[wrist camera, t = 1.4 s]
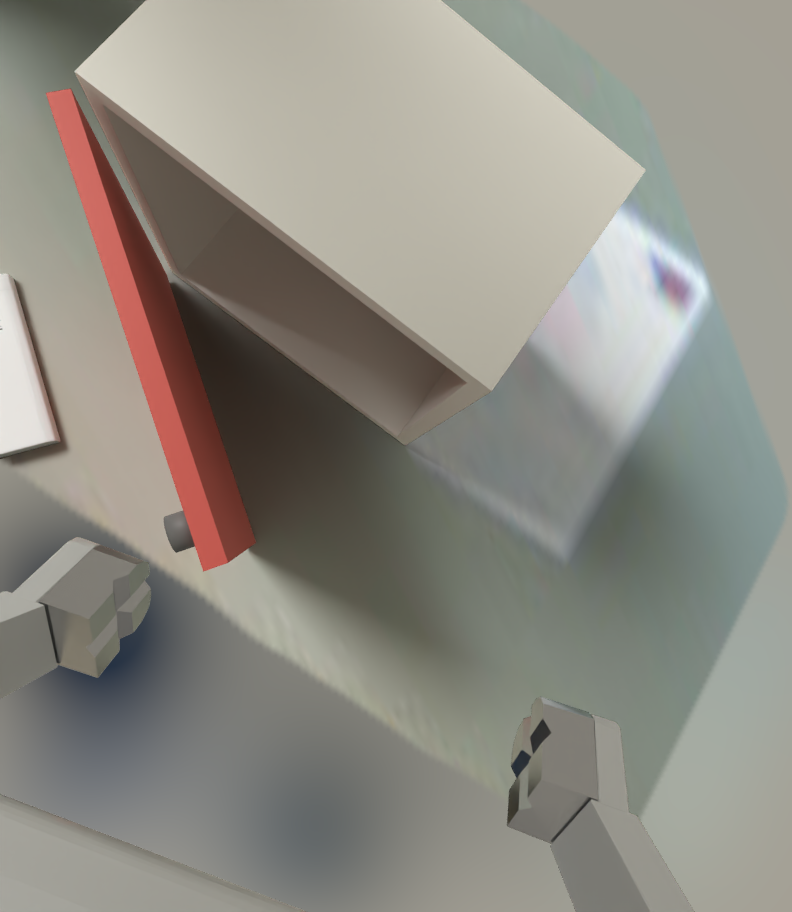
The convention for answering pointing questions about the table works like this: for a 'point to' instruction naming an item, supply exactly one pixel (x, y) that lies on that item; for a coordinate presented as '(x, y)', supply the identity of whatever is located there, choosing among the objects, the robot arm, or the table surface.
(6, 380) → the external hard drive
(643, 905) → the robot arm
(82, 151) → the door
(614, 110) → the table surface
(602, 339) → the table surface
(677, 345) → the table surface
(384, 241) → the cabinet
